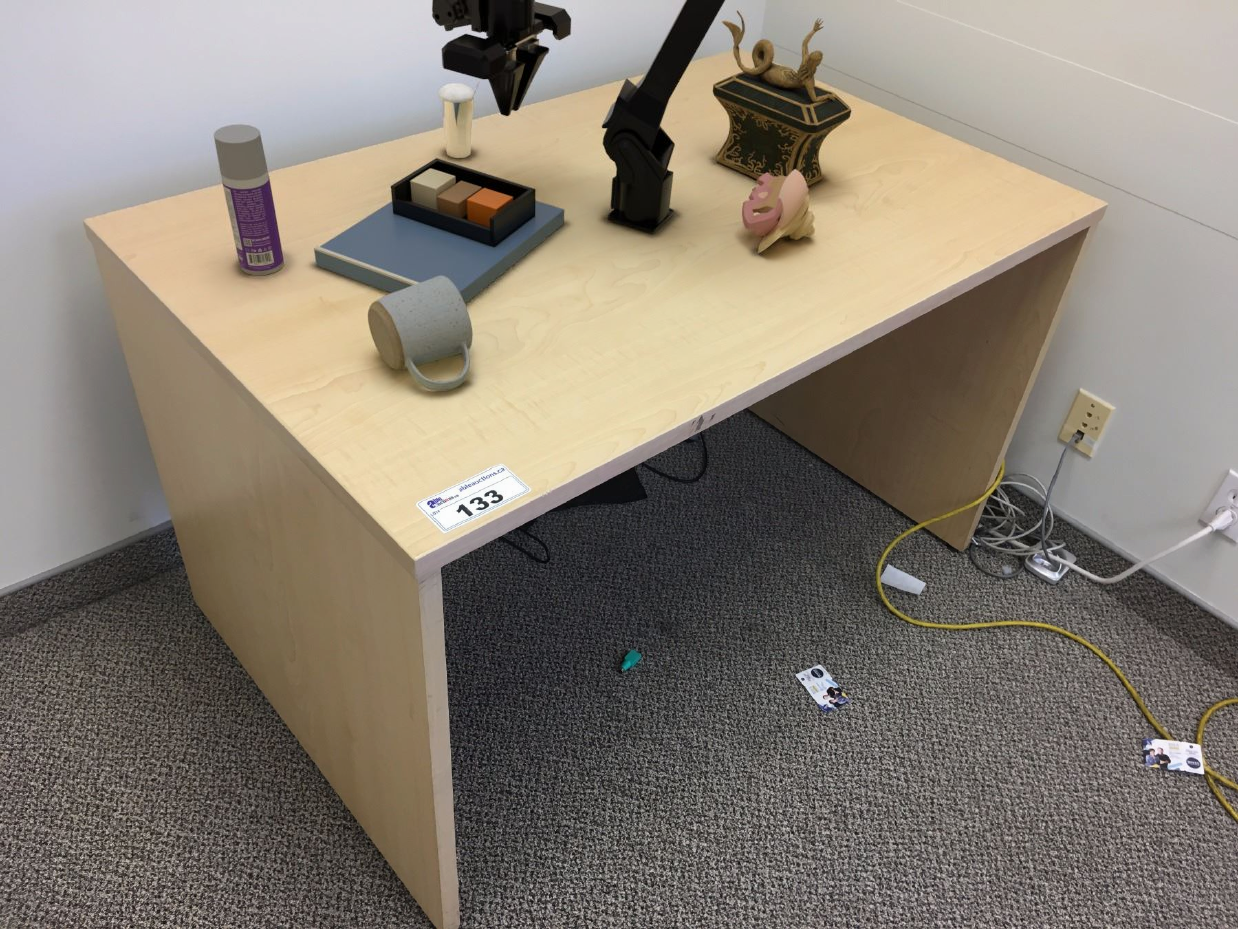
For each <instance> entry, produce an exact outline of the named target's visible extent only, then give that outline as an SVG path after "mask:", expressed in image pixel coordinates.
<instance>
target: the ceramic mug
mask: <svg viewBox="0 0 1238 929" xmlns="http://www.w3.org/2000/svg"><path fill="white" fill-rule="evenodd" d="M367 322H368V327H369V331H370V334H371V339H372V340H373V343H374V346H375V348H376V350H377V352H378V353H379V355H380V357H381V358H382V360H383V362H384V363H385V364H386V365H388V367H390V368H392V369H395V370H406V369H407V370H408V373H409V374H410V376H411V377H412V378H413V380H415V382H416V383H417V384H419V385H420V386H421V387H423V388H424V389H427V390H430V391H435V392H448V391H451V390H452V389H455V388H458V387H460V386H461V385H462V384H464V382H465V381H466V379H467V377H468V374H469V370H470V367H471V365H470V364H471V359H470V358H471V356H470V353H469V350H470V349H471V347H472V345H473V336H474V334H473V326H472V320H471V317H470V314H469V311H468V307H467V305H466V304H465V303H464V300H463V299H462V297H461V294H460V293H459V291H458V289H457V288H456V286H455V285H454V284H453V283H452V281H451V280H450V279H448V278H447V277H445V276H437V277H434V278H432V279H429V280H427V281H424V282H421V283H418V284H415V285H413V286H410V287H407V288H405V289H402V290H399V291H396V292H394V293H389V294H386V295H384V296H382V297H380V298H378V299H376V300H375V301H373V302H371V304H370V305H369V308H368V311H367ZM459 354H461V355H462V359H463V364H464V366H463V369H462V370H461V373H460V374H459V375H458V376H457V377H456V378H454V379H450V380H434V379H430V378H427V377H426V376H425V375H423V374H422V373H421V372H420V371H419V369H418V368H417V367H418V366H422V365H425V364H427V363H431V362H435V361H438V360H442V359H446V358H449V357H453V356H455V355H459Z"/></svg>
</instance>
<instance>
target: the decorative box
mask: <svg viewBox="0 0 1238 929" xmlns="http://www.w3.org/2000/svg"><path fill="white" fill-rule="evenodd" d="M736 14H737V15H738V16H739V17H740V19H741V20H740V21H741V27H740V26H739V25H738V24H735V23H733V22H732V21H728V20H722V21H721V23H722V24H723V25H724V26H725V27H726V28H727V29H728V30H729V32H730V33H731V36H732V38H733V46H732V52H733V57H734V59H735V61H736V64H737V66H738V68H739V69H740V70H741V72H738V73H736V74H733V75H730V76H729V77H726V78H723V79H722V80H720V81H717V82H715V83H714V84H713V85H712V94H713V96H714V98H715V99H716V100H717V101H718V103H719V104H720V105H721V106H722V108H724V110H725V111H726V114H727V116H728V119H729V128H728V134H727V137H726V139H725V141H724V143H723V145H722V146H721V148H720V149H719V151H718V153H717V154H716V155H715V156H716V157H715V158H716V162H718V163H720V164H722V165H724V166H726V167H729V168H730V169H731V168H732V169H733V170H736V171H738V172H740V173H743V174H745V175H746V176H749V177H751V178H753V179H755V180H757V179H758V178H759V177H761V176H762V175H763V174H765V173H767V172H768V173H769V174H770V175H771V176H774V177H778V176H787V177H788V175H789V174H790V173H791V172H792V171H793V170H794V169H796V170H797V171H799V172H800V173H801V174H802V175H803V177H804V179H805V181H806V184H807V187H809V186H811V185H813V184H815V183H817V182H819V181H820V180H822V179H823V177H824V175H823V172H822V168H821V164H820V151H821V148H822V146H823V143H824V141H825V140H826V138H827V137H828V135H829V134H830V133H831V132H832V131H834V130H835V129H837V128H838V127H839V126H841V125H842V124H843V123H845V122H846V121H847V120H849V119H850V118H851V115H852V108H851V107H850V106H849V104H847V102H845V101H844V100H843V99H842V98H841V97H839V96H838V95H837V94H836V93H835V92H834V91H832V90H830V89H827V88H824V87H821V86H819V85H816V80H815V74H816V72H817V69H818V67H819V66H820V65H821V63H822V61H823V56H824V52H822V51H821V50H818V49H816V50H814V51H812V52H810V53H809V46H808V44H809V43H810V41H811V39H812V38H813V36H814V35H815V33H817V32H818V31H821V30H822V29H824V26H821V25H822V24H823V23H824V20H822V18H820V19H819V17H818V18H817V19H816V20H815V21H814V25H813V28H812V30H810V32H808V34H807V35H806V36H805V37H804V39H803V40H802V44H801V63H800V64H799V67H798V69H797V71H796V70H794V69H792V67H788V66H784V65H781V64H777V63H774V62H773V61H774V57H775V49H774V45H773V43H772V42H771V41H770V40H768V39H765V38H764V39H760V40H758V41H757V42H756V43H755V44H754V46H753V48H752V52H751V59H752V63H753V66H754V67H751V68H750V67H747V66H745V65H744V64H743V63H742V59H741V58H742V57H741V55H740V44H741V43H742V40H743V38H744V36H745V34H746V33H745V32H746V24H745V20H744V18H743V16H742V14H741V12H740V11H739V10H736Z"/></svg>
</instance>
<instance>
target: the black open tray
mask: <svg viewBox="0 0 1238 929" xmlns="http://www.w3.org/2000/svg"><path fill="white" fill-rule="evenodd" d="M390 194H391V201H392V206H393V214H396V215H399V216H402V217H405V218H408V219H411V220H414V221H417V222H420V223H423V224H426V225H429V226H432V227H435V228H438V229H441V230H444V231H447V232H450V233H453V234H456V235H459V236H462V237H465V238H468V239H471V240H474V241H477V242H480V243H483V244H485V245H488V246H491V247H496V246H497V245H498V244H500V243H501V242H502V241H503V240H505V239H506V238H507V237H509V236H510V235H511V234H513V233H514V232H515V231H516V230H518V229H519V228H520V227H522V226H523V225H524V224H526V223H527V222H528V221H529V220H531V219H532V218H533V217H535V202H536V201H537V198H536V197H537V195H536V194H537V189H536V188H533V187H531V186H528V185H524V184H521V183H518V182H515V181H511V180H508V179H505V178H501V177H499V176H495V175H492V174H489V173H485V172H484V171H483V172H482V171H480V170H476V169H472V168H470V167H466V166H462V165H460V164H456V163H453V162H452V161H451V162H450V161H447V160H444V159H441V158H438V157H435V158H434V159H432V160H430V161H429V162H427V163H426V164H424V165H423V166H420V167H419V168H418V169H416V170H414V171H413V172H410V173H409V174H407V175H406V176H404V177H402V178H401V179H399V180H398V181H396V182H394V183H392V184H391V185H390Z"/></svg>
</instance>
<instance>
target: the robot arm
mask: <svg viewBox="0 0 1238 929" xmlns="http://www.w3.org/2000/svg"><path fill="white" fill-rule="evenodd" d="M431 1H432V3H431V12H432V13H431V17H432V18H433V20H434V22H435V24H436V25H438V26H439V27H444V30H445V32H451V31H453V30H454V29H457V28H462V27H468V26H470V29H471V31H472V32H475V33H478V34H481V33H485V36H486V37H481V36H477V35H472V34H469V33H464V34H462V35H459V36H457V37H455V38H453V39H451V40H450V41H447V43H446V44H445V45H444V46H442V48H441V66H442V68H443V69H444V70H447V71H450V72H455V73H457V74H458V73H459V74H462V75H465V76H468V77H472V78H475V79H480V80H488V83H489V86H490V88H491V90H492V94H493V96H494V98H495V99H494V100H495V102H496V105H497V108H498V111H499V114H500V115H501V116H504V117H509V116H511V113H512V111H514V112H517V111H519V109H520V108H521V106H522V103H523V102H524V100H525V97H526V95H527V93H528V91H529V88H531V85H532V83H533V81H534V78H535V76H536V75H537V72H538V71H539V69H540V66H542V63H543V61H544V59H545V58H546V56H547V55H548V54H549V52H550V47H548V46H544V45H541V44H540V39H539V38H538V35H540V34H542V33H543V32H544V30H548V31H551V32H552V36H553V38H554V40H556V41H561V40H563V39H565V38H568V37H569V36H571V34H572V17H571V16H570V14H569V13H568V11H567V10H566V9H565V8H563V7H559V6H555V5H551V4H546V3H543V2H538V1H536V0H431ZM725 2H726V0H685V1H684V2H683V4H682V6H681V8H680V10H679V11H678V14H677V15H676V18H675V19H674V21H673V23H672V25H671V26H670V28H669V30H668V32H667V34H666V36H665V38H664V40H663V42H662V43H661V45H660V47H659V49H658V51H657V53H656V55H655V56H654V58H653V60H652V62H651V63H650V65H649V68H648V69H647V71H646V73H645V74H644V75H643V76H642V77H641V79H640V80H639V81H638V82H637V83H636V84H634V83H633V82H632V81H631V80H629V79H628V78H625V80H624V82H623V84H622V86H621V89H620V90H619V93H618V95H617V97H616V99H615V101H614V102H613V103H611V106H610V108H609V110H608V112H607V114H606V115H605V118H604V120H603V123H602V124H601V128H602V129H606V130H605V132H604V134H603V138H602V146H603V149H604V151H605V153H606V155H607V157H608V158H609V160H611V161H612V162H613V163H614V165H615V169H616V172H615V176H614V177H612V179H611V192H610V209H611V211H610V212H609V213H608V214H607V215H606V219H607V220H608V221H611V222H614V223H617V224H621V225H623V226H627V227H630V228H633V229H637V230H639V231H643V232H646V233H649V234H654V233H656V232H657V231H658V230H659V229H660V228H661V227H662V226H663V225H664V224H665V223H666V222H668V220H670V219H671V217H673V216H674V215H675V209H674V208H671V198H672V192H673V191H672V189H673V182H674V171H672V170H669V169H668V168H669V165H670V162H671V160H672V156H673V153H674V150H675V146H676V144H675V142H674V141H673V140H672V139H671V137H670V136H669V134H667V132H666V131H665V129H664V128H662V126H661V124H662V123H663V122H662V121H663V118H664V116H665V113H666V110H667V107H668V105H669V102H670V99H671V98H672V96H673V94H674V92H675V90H676V88H677V86H679V83H680V81H681V79H682V77H683V76H684V74H685V73H686V71H687V69H688V67H689V65H690V64H691V61H692V60H693V58H694V57H695V55H696V53H697V51H698V49H699V48H700V46H701V44H702V42H703V40H704V39H705V37H706V35H707V33H708V32H709V30H710V29H711V26H712V24H713V23H714V21H715V19H716V17H717V16H718V14H719V12H720V10H722V9H721V8H722V7H723V5H724V4H725Z"/></svg>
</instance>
